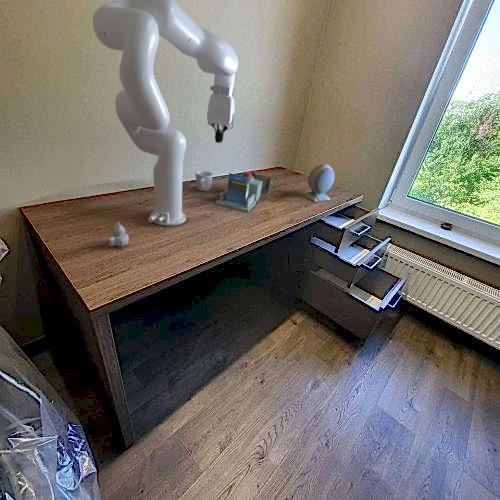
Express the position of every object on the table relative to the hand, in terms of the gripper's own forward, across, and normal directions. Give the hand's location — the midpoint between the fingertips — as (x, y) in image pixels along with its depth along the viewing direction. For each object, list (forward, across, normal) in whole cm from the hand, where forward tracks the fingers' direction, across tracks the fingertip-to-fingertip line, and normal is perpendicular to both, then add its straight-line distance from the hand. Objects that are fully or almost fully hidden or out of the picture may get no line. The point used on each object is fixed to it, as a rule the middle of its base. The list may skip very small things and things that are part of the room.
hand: (218, 142), depth 115 cm
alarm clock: (+24, +44, +37) cm, 62 cm away
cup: (+24, -8, +5) cm, 26 cm away
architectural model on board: (+24, +15, +26) cm, 38 cm away
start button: (+15, +11, +11) cm, 21 cm away
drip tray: (+24, +11, 0) cm, 27 cm away
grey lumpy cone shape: (+26, -6, -54) cm, 60 cm away
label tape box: (+23, +11, 0) cm, 26 cm away
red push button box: (+24, +11, +11) cm, 29 cm away
